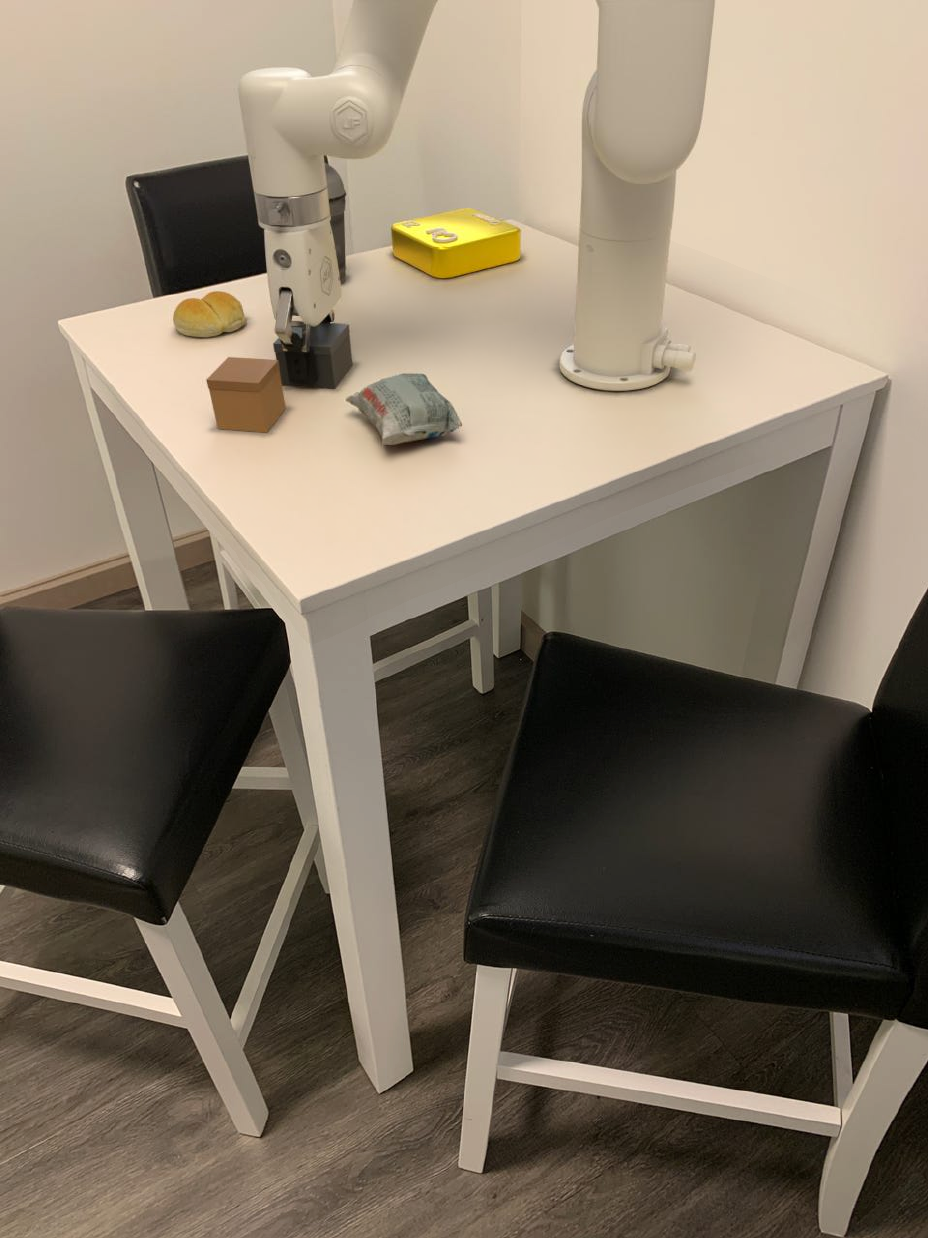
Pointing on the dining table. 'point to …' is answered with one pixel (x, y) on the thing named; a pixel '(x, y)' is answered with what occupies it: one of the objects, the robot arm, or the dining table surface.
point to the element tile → (456, 242)
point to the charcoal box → (322, 354)
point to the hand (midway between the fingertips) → (314, 367)
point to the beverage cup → (337, 216)
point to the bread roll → (209, 315)
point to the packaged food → (406, 409)
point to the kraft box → (246, 394)
